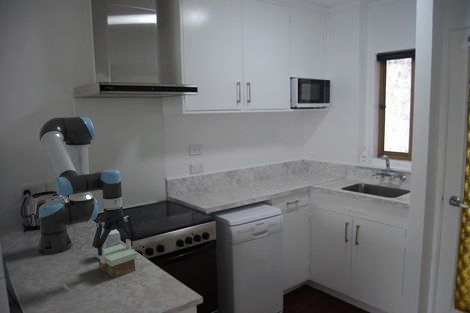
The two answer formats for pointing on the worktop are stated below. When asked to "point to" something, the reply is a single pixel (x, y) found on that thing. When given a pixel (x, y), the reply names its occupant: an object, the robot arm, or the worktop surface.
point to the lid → (117, 255)
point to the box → (118, 268)
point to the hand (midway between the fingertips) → (116, 258)
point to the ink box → (113, 239)
